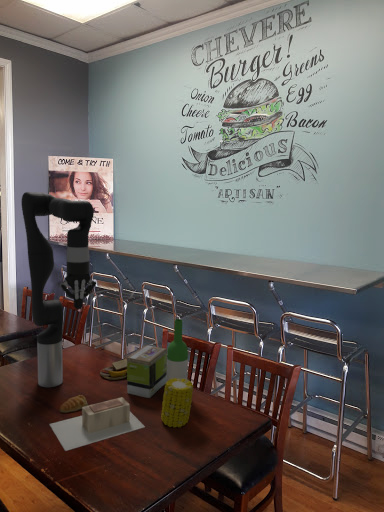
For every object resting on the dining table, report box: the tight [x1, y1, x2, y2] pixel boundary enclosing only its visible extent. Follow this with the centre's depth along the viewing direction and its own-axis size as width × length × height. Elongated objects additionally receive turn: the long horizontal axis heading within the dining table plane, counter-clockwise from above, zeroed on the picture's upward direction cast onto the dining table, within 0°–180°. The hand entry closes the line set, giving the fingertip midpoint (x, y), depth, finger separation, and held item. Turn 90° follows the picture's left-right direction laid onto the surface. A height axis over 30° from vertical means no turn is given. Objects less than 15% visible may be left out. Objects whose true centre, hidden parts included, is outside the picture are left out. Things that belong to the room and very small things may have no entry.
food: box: [160, 378, 194, 428], centre depth 144 cm, size 15×12×10 cm
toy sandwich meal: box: [99, 358, 127, 381], centre depth 181 cm, size 12×14×5 cm
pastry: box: [59, 394, 89, 414], centre depth 152 cm, size 9×7×4 cm
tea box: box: [126, 344, 168, 399], centre depth 168 cm, size 15×10×15 cm, turn 157°
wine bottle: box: [166, 318, 189, 382], centre depth 161 cm, size 8×8×30 cm
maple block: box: [81, 396, 131, 433], centre depth 142 cm, size 6×6×14 cm
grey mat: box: [49, 411, 146, 452], centre depth 141 cm, size 17×26×1 cm, turn 123°
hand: (78, 308), depth 150 cm, fingers closed
